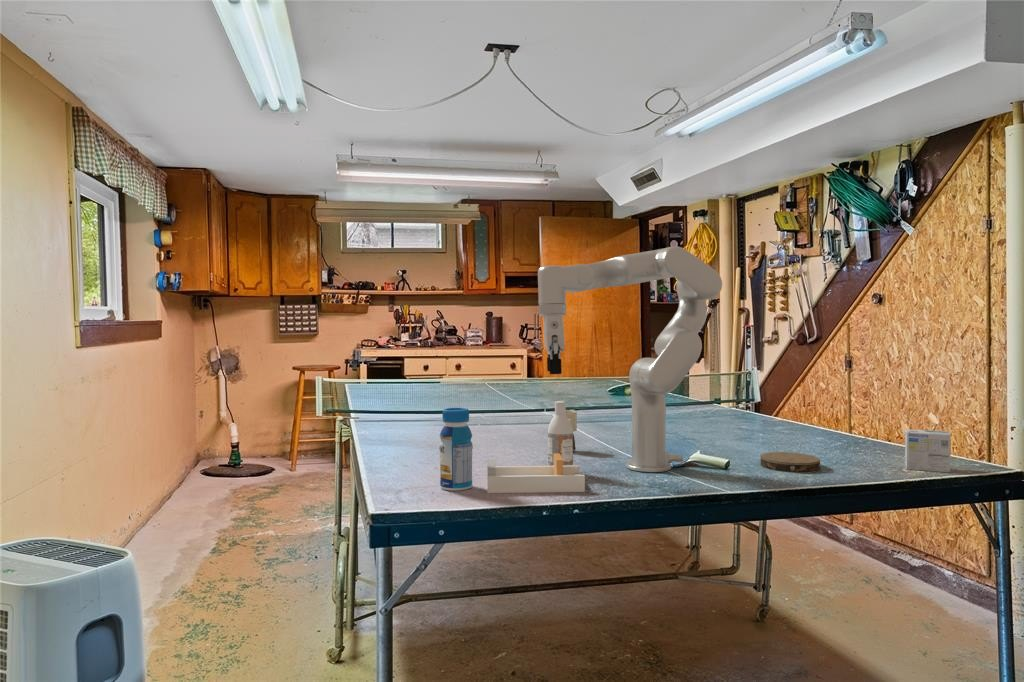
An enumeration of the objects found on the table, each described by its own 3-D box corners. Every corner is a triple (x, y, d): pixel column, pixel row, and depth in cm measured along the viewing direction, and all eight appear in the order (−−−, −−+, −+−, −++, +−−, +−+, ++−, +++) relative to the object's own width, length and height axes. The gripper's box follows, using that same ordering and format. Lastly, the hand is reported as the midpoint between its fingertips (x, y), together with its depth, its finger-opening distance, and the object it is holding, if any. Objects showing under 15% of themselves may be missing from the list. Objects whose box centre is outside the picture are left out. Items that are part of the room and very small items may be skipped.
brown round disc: (756, 460, 200) (756, 451, 200) (812, 463, 197) (812, 453, 197) (765, 472, 185) (765, 461, 185) (826, 474, 182) (826, 464, 181)
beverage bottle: (468, 492, 163) (467, 411, 163) (435, 490, 165) (434, 411, 164) (476, 484, 172) (475, 407, 171) (444, 482, 173) (444, 406, 173)
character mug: (550, 448, 220) (550, 409, 219) (571, 447, 221) (571, 409, 221) (559, 455, 209) (559, 414, 209) (581, 454, 211) (581, 413, 210)
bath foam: (558, 477, 178) (557, 403, 178) (542, 473, 184) (542, 401, 184) (578, 474, 182) (578, 402, 182) (562, 469, 188) (562, 399, 187)
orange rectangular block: (559, 476, 173) (559, 453, 173) (563, 484, 165) (563, 460, 165) (553, 476, 173) (553, 453, 173) (556, 484, 165) (556, 460, 165)
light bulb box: (947, 468, 188) (947, 430, 187) (951, 473, 182) (952, 434, 181) (903, 465, 192) (904, 428, 192) (906, 469, 186) (906, 431, 186)
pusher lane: (578, 480, 175) (578, 457, 175) (584, 491, 163) (584, 467, 163) (487, 481, 175) (487, 458, 174) (487, 493, 163) (487, 468, 162)
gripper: (569, 309, 174) (570, 374, 174) (563, 310, 191) (565, 369, 192) (540, 310, 174) (542, 375, 174) (537, 311, 191) (539, 370, 192)
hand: (554, 372), depth 183 cm, fingers open, 9 cm apart
